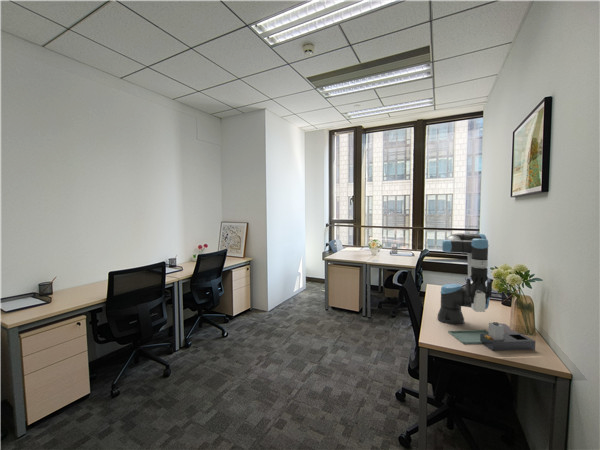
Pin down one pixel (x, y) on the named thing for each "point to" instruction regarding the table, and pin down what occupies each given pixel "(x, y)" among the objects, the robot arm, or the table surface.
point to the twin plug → (496, 331)
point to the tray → (468, 336)
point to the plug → (479, 301)
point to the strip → (508, 342)
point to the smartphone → (507, 329)
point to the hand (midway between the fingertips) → (478, 309)
